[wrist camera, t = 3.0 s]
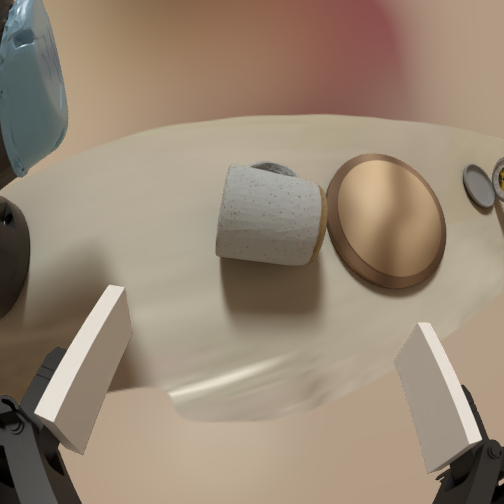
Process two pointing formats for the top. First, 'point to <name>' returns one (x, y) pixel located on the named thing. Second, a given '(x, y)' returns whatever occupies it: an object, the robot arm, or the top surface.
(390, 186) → the brown round plate
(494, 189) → the pocket watch
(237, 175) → the ceramic mug
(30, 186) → the top surface
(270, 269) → the top surface
